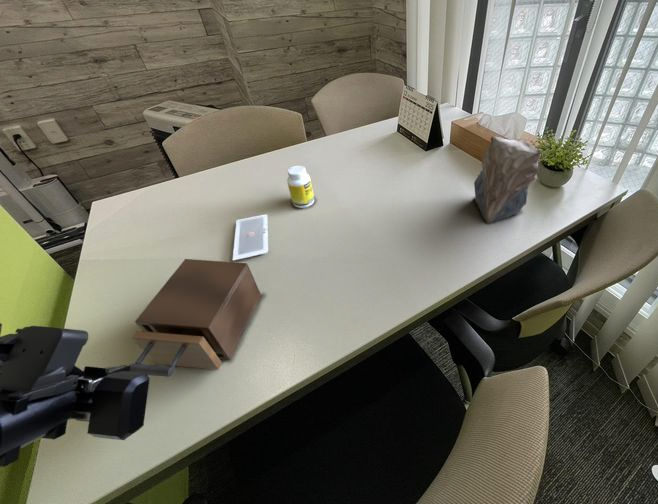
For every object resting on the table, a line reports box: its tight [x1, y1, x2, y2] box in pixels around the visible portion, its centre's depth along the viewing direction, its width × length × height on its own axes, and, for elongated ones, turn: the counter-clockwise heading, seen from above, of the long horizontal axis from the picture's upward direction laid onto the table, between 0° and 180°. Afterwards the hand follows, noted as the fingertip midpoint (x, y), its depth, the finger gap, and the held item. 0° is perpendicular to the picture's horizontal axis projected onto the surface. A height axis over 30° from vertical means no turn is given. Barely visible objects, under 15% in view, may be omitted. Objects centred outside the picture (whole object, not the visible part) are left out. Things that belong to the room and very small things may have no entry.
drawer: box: [129, 325, 223, 378], centre depth 57 cm, size 17×11×9 cm, turn 175°
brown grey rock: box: [473, 135, 543, 224], centre depth 86 cm, size 13×13×20 cm
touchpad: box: [232, 213, 269, 261], centre depth 82 cm, size 8×15×2 cm, turn 18°
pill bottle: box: [286, 164, 315, 209], centre depth 91 cm, size 6×6×11 cm
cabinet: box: [134, 258, 263, 361], centre depth 61 cm, size 14×13×11 cm
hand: (127, 368), depth 45 cm, fingers closed
